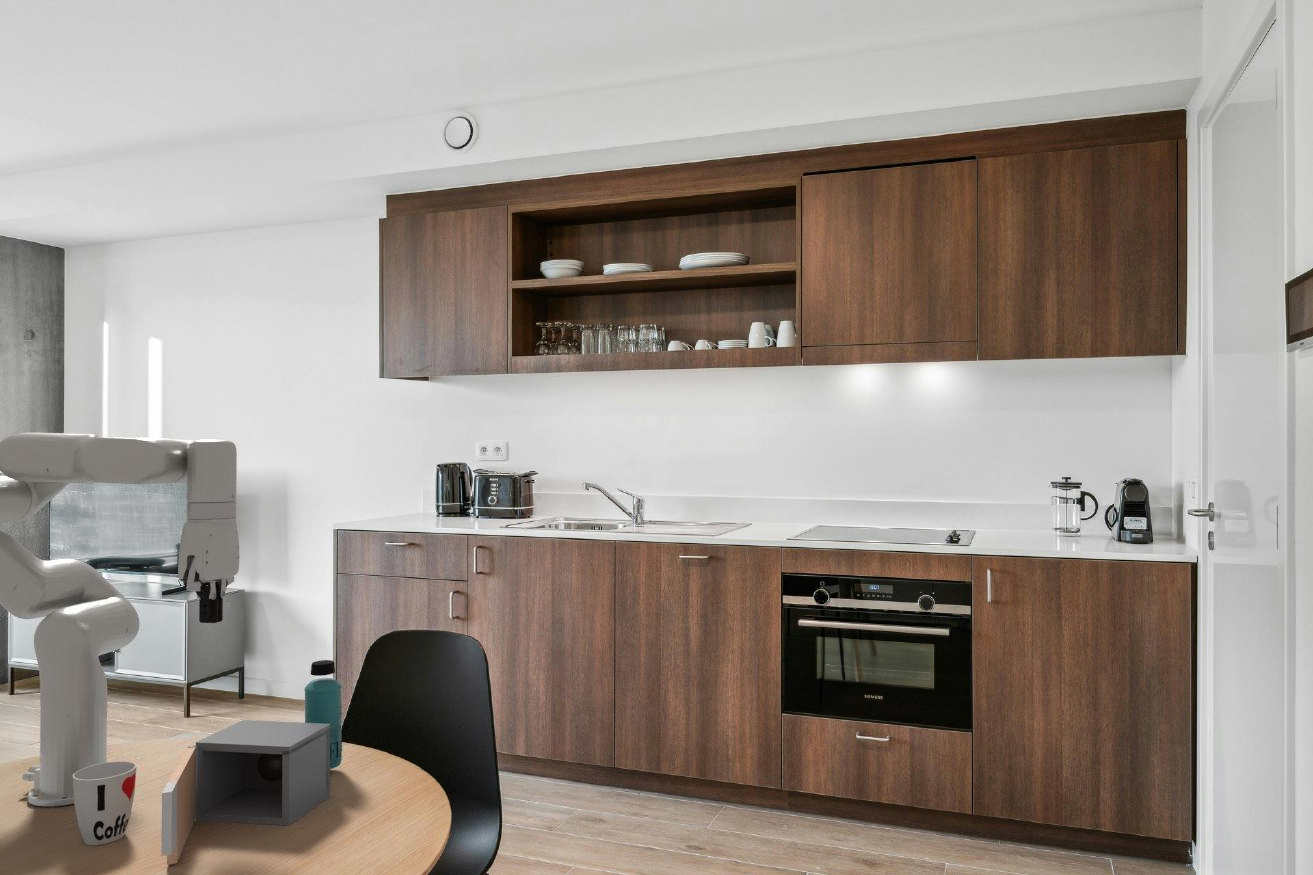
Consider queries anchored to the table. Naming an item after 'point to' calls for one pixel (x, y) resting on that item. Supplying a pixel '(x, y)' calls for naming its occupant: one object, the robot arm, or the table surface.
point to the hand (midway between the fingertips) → (210, 621)
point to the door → (179, 806)
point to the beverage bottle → (325, 706)
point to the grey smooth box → (262, 772)
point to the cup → (104, 800)
